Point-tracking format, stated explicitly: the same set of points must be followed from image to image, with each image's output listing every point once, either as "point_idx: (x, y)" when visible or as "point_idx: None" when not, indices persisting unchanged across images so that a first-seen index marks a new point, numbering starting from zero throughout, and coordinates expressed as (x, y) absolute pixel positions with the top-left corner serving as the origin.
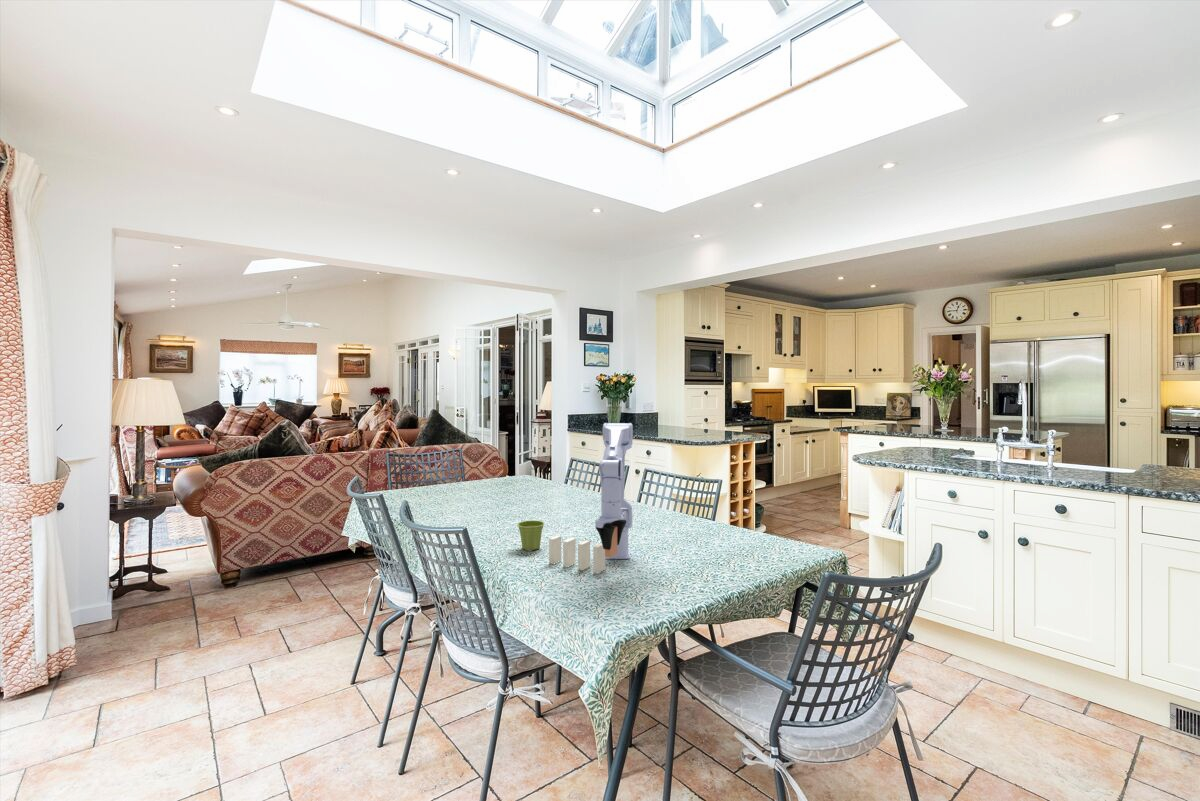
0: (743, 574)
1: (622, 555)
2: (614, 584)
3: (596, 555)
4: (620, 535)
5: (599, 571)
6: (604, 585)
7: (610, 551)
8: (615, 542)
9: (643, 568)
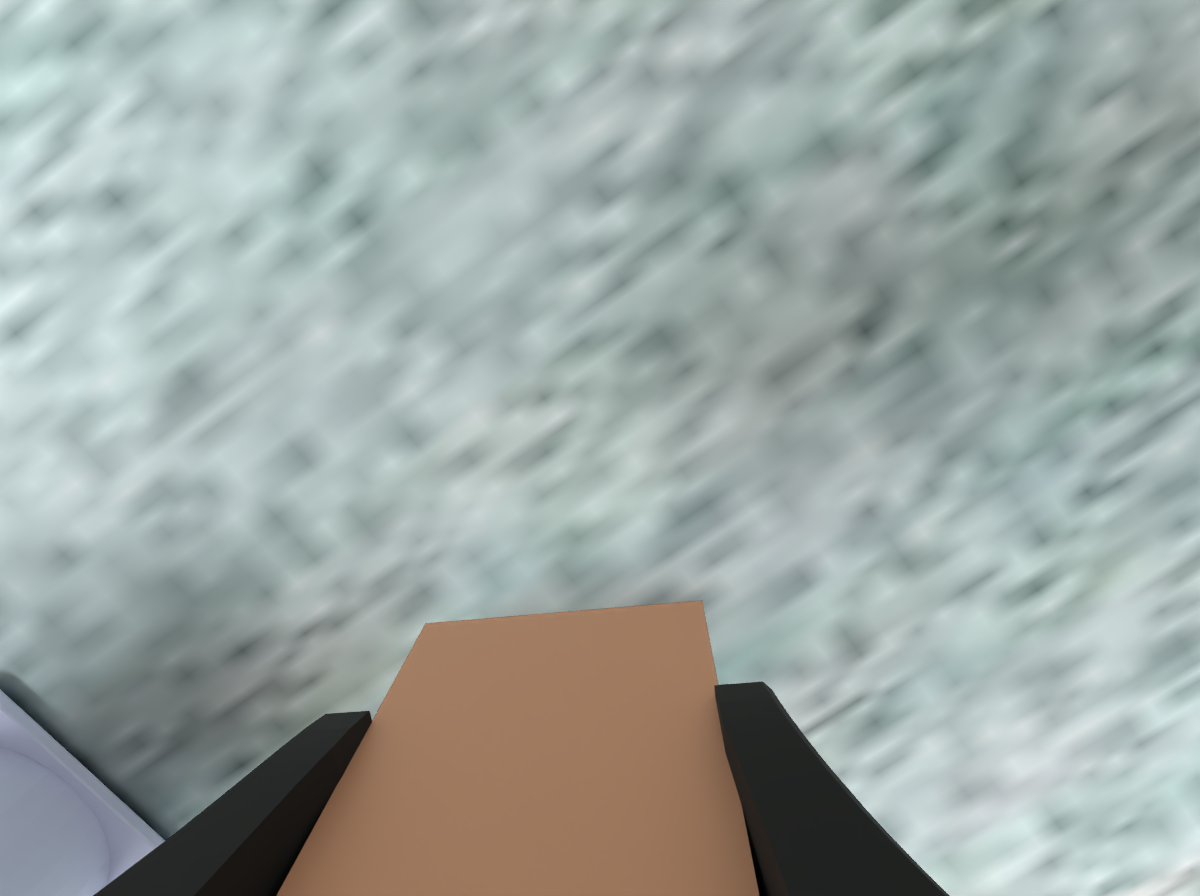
0: None
1: (7, 765)
2: (734, 364)
3: None
4: (173, 871)
5: None
6: (826, 437)
7: (687, 662)
8: (436, 779)
9: (85, 396)
